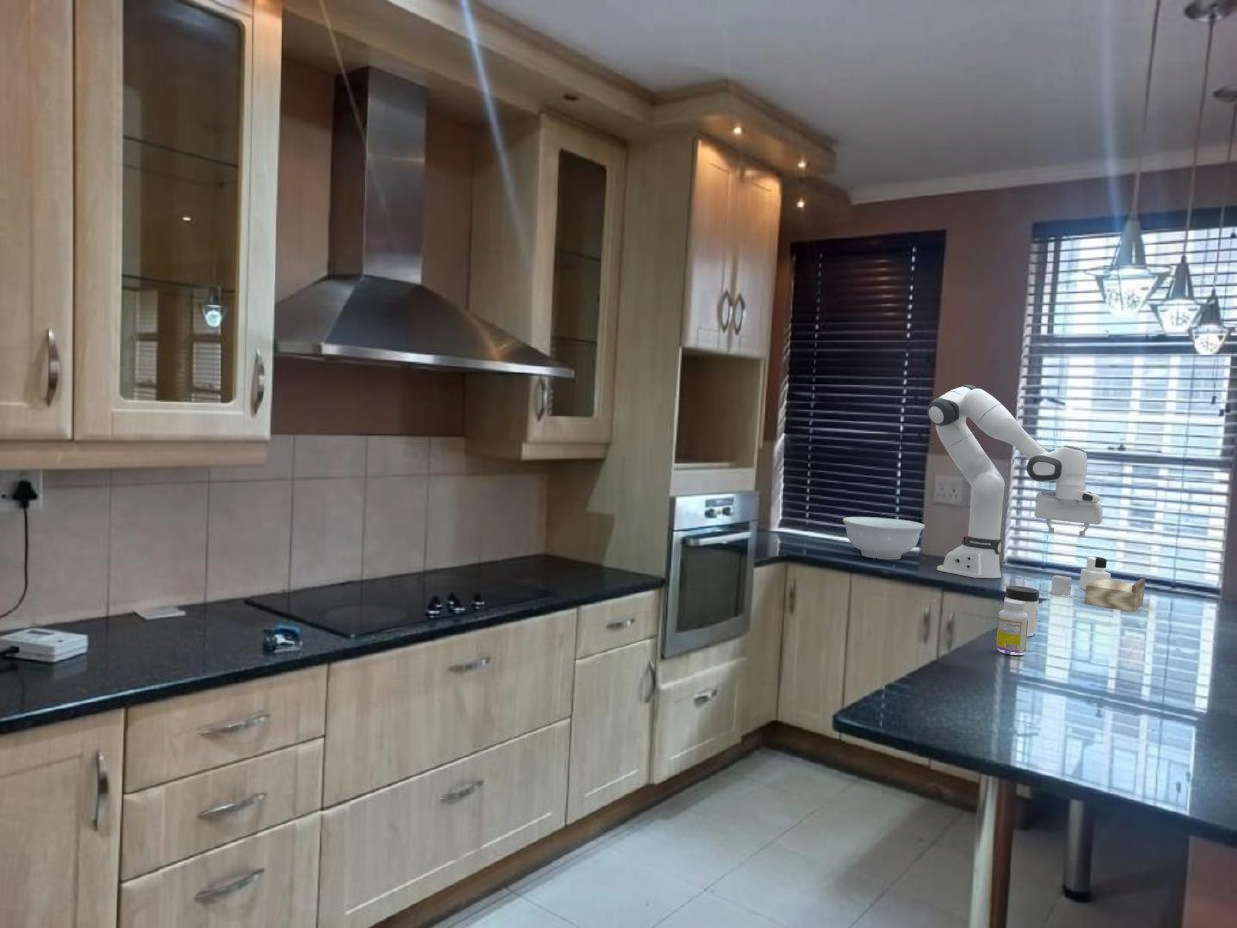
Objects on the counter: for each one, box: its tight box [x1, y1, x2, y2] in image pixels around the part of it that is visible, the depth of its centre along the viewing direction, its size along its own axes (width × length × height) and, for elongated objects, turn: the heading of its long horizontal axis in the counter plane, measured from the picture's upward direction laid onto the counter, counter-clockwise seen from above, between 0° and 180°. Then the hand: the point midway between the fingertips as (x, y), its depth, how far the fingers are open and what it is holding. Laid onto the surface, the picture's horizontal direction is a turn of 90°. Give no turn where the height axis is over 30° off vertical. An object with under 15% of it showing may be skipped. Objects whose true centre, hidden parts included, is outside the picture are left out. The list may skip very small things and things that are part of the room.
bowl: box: [842, 516, 926, 561], centre depth 350 cm, size 32×32×15 cm
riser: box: [1083, 578, 1146, 613], centre depth 281 cm, size 14×20×8 cm
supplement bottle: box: [995, 599, 1028, 653], centre depth 209 cm, size 7×7×13 cm
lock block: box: [1050, 574, 1073, 597], centre depth 291 cm, size 5×5×6 cm
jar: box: [1003, 585, 1040, 633], centre depth 231 cm, size 9×8×12 cm
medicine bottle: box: [1079, 556, 1112, 592], centre depth 301 cm, size 7×7×12 cm
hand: (1066, 534), depth 290 cm, fingers open, 8 cm apart
